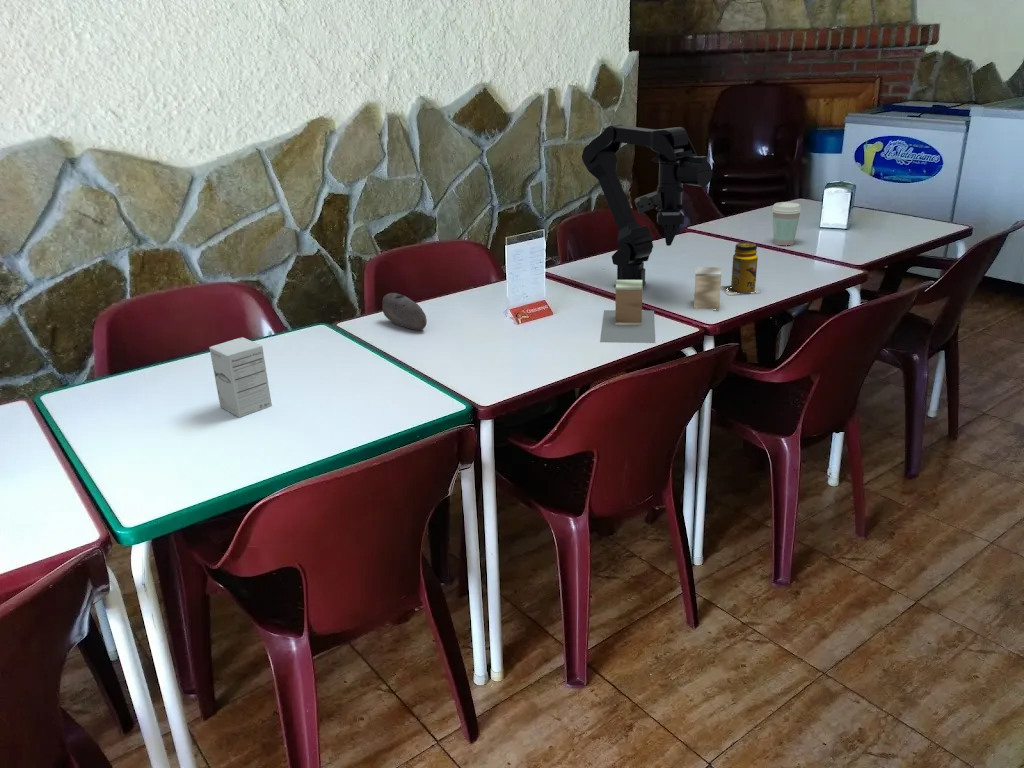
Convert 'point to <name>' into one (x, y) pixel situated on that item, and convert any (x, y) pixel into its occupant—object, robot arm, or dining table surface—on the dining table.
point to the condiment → (743, 269)
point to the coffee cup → (785, 222)
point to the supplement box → (240, 376)
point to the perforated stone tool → (403, 311)
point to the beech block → (707, 287)
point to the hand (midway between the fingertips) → (668, 245)
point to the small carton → (628, 302)
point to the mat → (628, 329)
